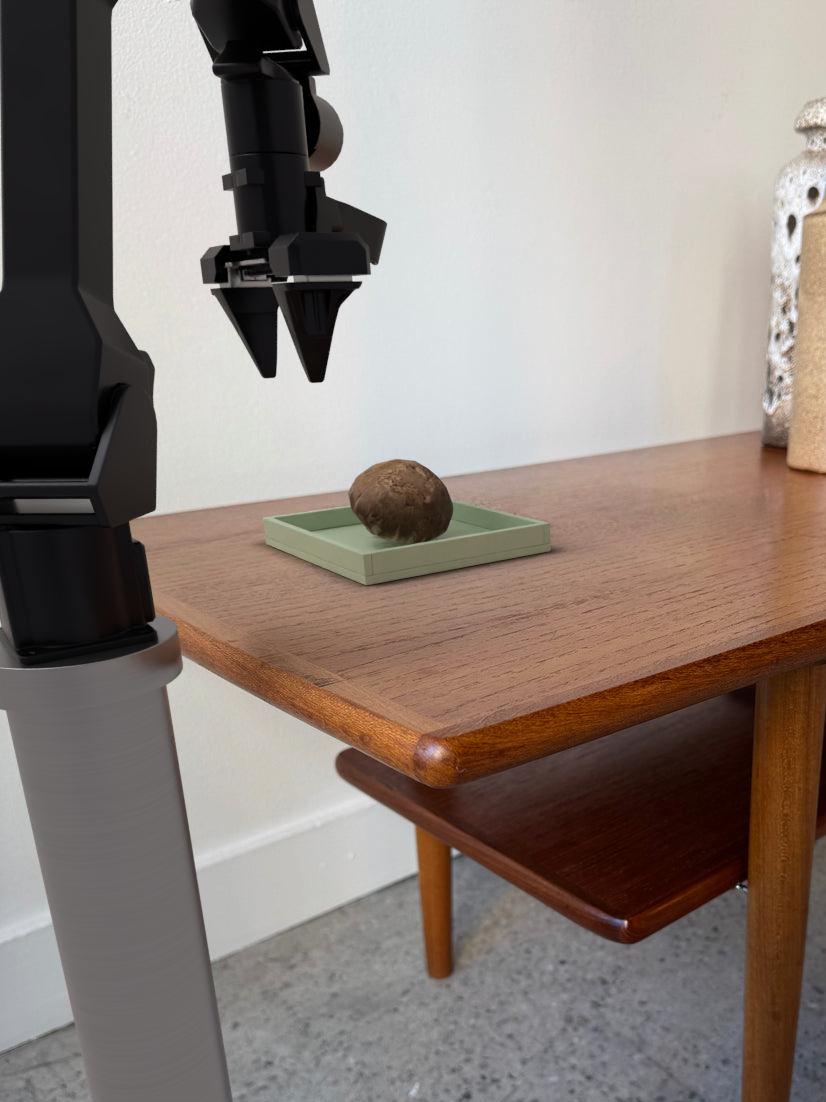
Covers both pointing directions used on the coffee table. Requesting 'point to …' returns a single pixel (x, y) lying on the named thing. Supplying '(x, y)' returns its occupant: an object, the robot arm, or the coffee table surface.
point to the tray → (374, 560)
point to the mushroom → (401, 502)
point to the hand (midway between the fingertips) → (292, 380)
